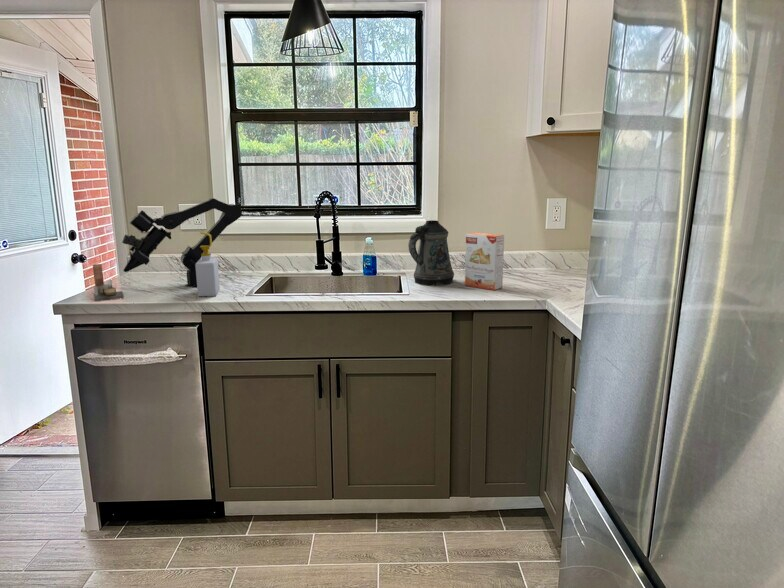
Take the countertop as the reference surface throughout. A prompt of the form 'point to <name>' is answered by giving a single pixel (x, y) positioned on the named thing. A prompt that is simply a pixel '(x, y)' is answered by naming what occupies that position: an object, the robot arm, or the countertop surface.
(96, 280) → the link
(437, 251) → the beer stein
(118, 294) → the base plate
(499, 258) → the cracker box
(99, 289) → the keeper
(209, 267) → the soap bottle
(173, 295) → the countertop surface
